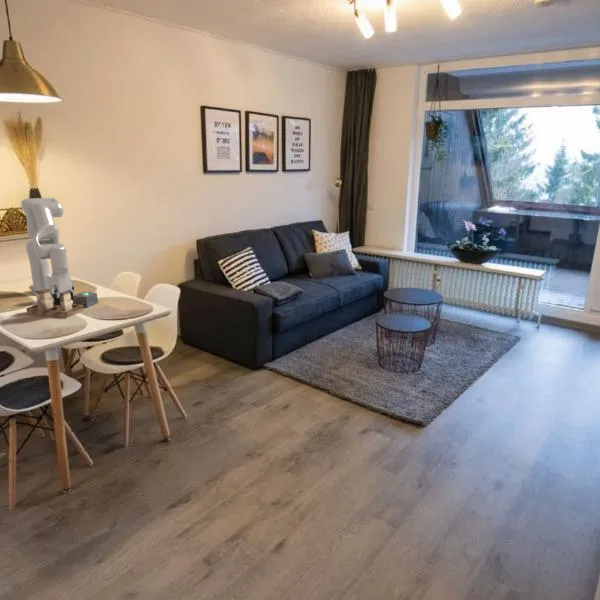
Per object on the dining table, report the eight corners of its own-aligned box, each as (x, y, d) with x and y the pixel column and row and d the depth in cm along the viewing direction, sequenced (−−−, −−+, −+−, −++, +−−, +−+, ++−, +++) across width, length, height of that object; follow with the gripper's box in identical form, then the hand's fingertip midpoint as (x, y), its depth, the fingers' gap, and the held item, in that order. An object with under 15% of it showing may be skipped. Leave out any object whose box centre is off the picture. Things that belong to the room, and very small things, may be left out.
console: (73, 306, 264) (71, 295, 262) (84, 301, 272) (82, 291, 271) (87, 307, 262) (86, 297, 260) (97, 303, 270) (96, 292, 269)
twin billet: (38, 309, 253) (35, 290, 250) (45, 306, 258) (42, 288, 255) (46, 310, 252) (43, 291, 249) (53, 307, 256) (50, 289, 254)
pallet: (27, 313, 250) (26, 308, 249) (45, 306, 262) (44, 301, 262) (66, 317, 245) (66, 312, 244) (83, 310, 257) (83, 305, 256)
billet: (57, 311, 250) (54, 292, 247) (64, 308, 255) (61, 290, 252) (65, 312, 249) (63, 293, 246) (72, 309, 254) (70, 290, 251)
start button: (79, 302, 265) (78, 294, 264) (84, 300, 269) (83, 292, 268) (86, 303, 264) (85, 294, 263) (90, 301, 268) (89, 292, 267)
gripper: (65, 266, 255) (69, 297, 260) (41, 273, 239) (46, 306, 243) (78, 267, 253) (81, 298, 258) (54, 274, 237) (58, 307, 242)
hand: (64, 302), depth 251 cm, fingers open, 9 cm apart
